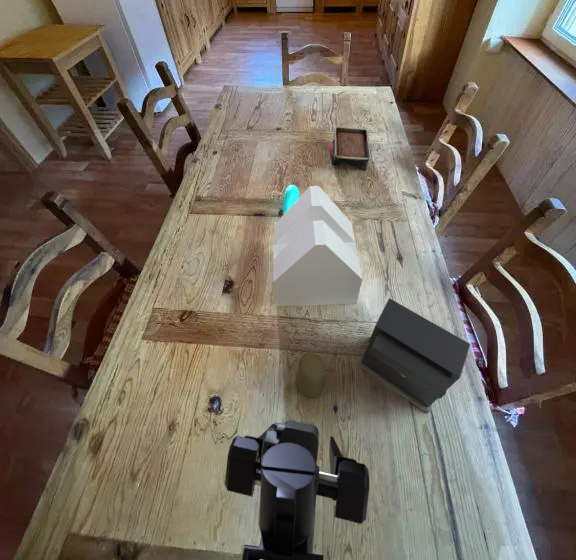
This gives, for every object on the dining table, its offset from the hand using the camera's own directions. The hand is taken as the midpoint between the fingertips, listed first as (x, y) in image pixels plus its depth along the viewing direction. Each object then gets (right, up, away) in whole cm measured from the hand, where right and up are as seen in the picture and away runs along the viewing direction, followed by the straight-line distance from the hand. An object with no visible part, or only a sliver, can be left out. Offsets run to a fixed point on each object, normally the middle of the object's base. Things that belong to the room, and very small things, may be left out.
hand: (302, 432), depth 54 cm
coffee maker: (+20, -1, +16) cm, 26 cm away
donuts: (+2, +29, +48) cm, 56 cm away
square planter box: (+19, +47, +66) cm, 83 cm away
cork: (+2, -2, +16) cm, 16 cm away
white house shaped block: (+4, +15, +33) cm, 37 cm away
